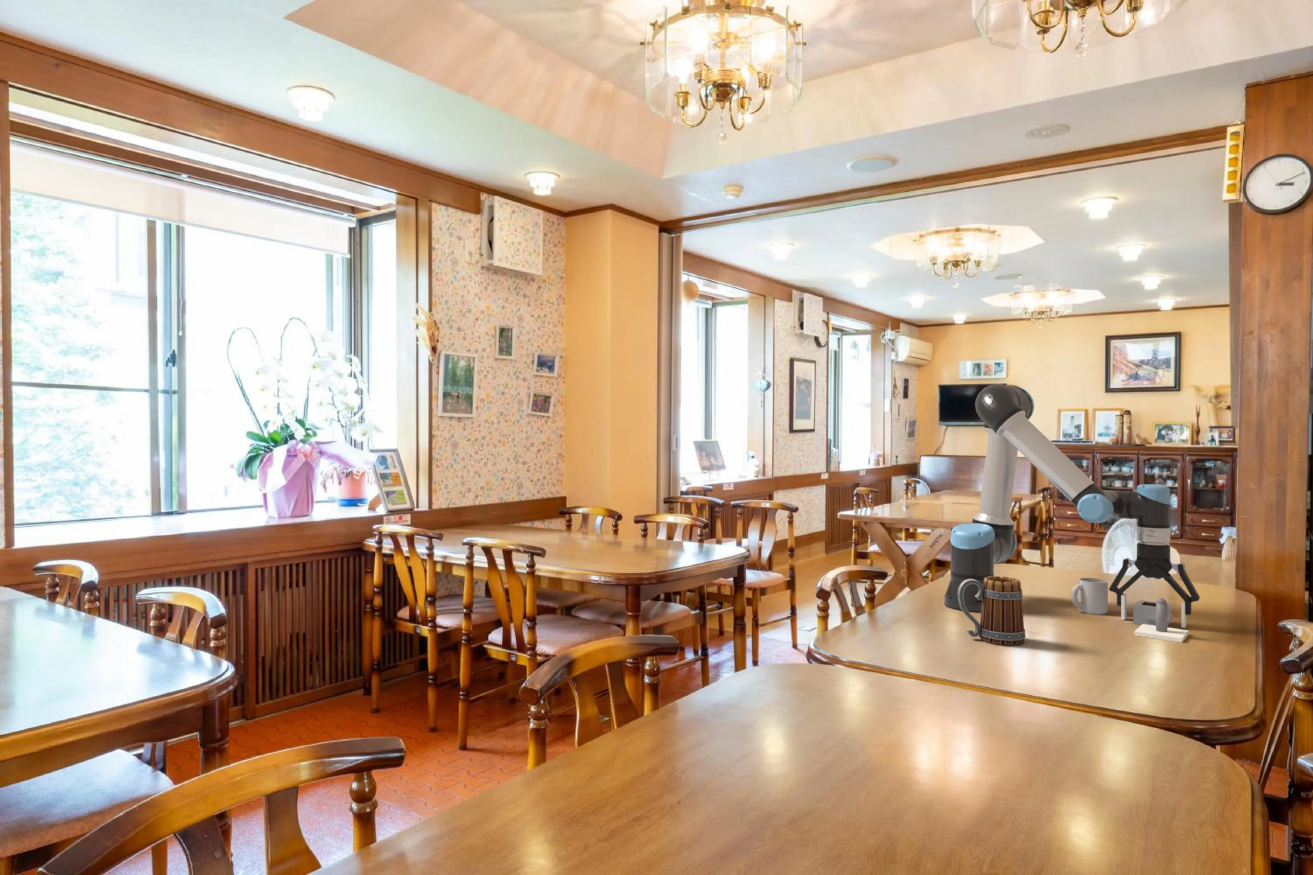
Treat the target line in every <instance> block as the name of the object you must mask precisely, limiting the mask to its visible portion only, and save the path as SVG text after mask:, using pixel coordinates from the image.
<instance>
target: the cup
mask: <svg viewBox="0 0 1313 875" xmlns="http://www.w3.org/2000/svg"><path fill="white" fill-rule="evenodd" d="M1070 599H1071V601H1072V605H1073V606H1075V607H1076V608H1078V610H1079V612H1081V613H1084V614H1087V615H1088V614H1089V615H1097V616H1098V615H1100V616H1101V615H1107V613H1108V609H1109V581H1108V580H1106V579H1102V578H1096V577H1095V578H1094V577H1081V578H1078V583H1077V584H1076V585H1074V586H1073V587H1072V589H1071V594H1070Z"/></svg>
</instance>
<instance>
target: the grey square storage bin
mask: <svg viewBox="0 0 1313 875" xmlns="http://www.w3.org/2000/svg"><path fill="white" fill-rule="evenodd" d="M1156 602H1157V601H1156ZM1156 602H1155V601H1148V600H1141V599H1140V600H1137V602H1135V603H1134V604H1133V610H1132V612H1133V615H1132V616H1133V620H1132V621H1133V622H1132V624H1135V625H1140V626H1141V625H1142V624H1147V625H1154V626H1156ZM1167 604H1168V610H1167V627H1168V628H1169V626H1170V625H1171V624H1172V604H1171V603H1167Z"/></svg>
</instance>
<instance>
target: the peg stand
mask: <svg viewBox="0 0 1313 875" xmlns="http://www.w3.org/2000/svg"><path fill="white" fill-rule="evenodd" d="M1168 604H1169V603H1167V600H1166V599H1165V598H1163V597H1161V598H1158V599H1157V601H1156V626H1154V625H1147V624H1142V625H1140V626H1138V628H1137V629H1135V630H1134V636H1136V637H1143V638H1151V639H1154V640H1155V639H1157V640H1162V641H1169V642H1174V643H1184V641H1185V639H1186V638H1188V636H1189V631H1190V630H1187V629H1183V628H1182V629H1180V628H1173V627H1169V626H1168V627H1167V610H1168Z"/></svg>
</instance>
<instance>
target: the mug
mask: <svg viewBox="0 0 1313 875" xmlns="http://www.w3.org/2000/svg"><path fill="white" fill-rule="evenodd" d="M1021 583H1022V582H1021V581H1020V579H1018V578H1015V577H1008V576H1002V577H1001V576H1000V575H998V576H997V575H994V578H993V576H989V577H985V579H984V584H983V585H982V584H981V583H980V582H979V581H977V580H974V579H967V580H965V581H963V582H962V583H961V584H960V586H959V589H958V601H959V605H960V608H961V609H962V610H961V611H962V613H963V614H964V615H965V617H967V618H968V619H969V620H970V621H971V622H972V624H974V627H975V628H974V630H973V629H972V628H971V627H969V628H966V632H967V634H968V635H969V636H971V637H972V638H976V637H979V638H980V639H981V640H982V642H983V641H984V642H986V643H989V644H992V645H998V646H1008V647H1009V646H1012V647H1013V646H1014V647H1015V646H1019V645H1022V644H1023V643H1025V641H1026V629H1025V627H1024V626H1025V624H1024V623H1025V622H1024V610H1023V609H1024V608H1023V596H1024V595H1023V589H1022V584H1021ZM970 584H975V585H977V586H978V594H977V595H976V596H975V597H976V598H977V599H978V600H981V599H982V607H981V612H980V619H979V620H980V621H978V620H977V619H976V618H975V617H974V616H973V615H972V613H970V611H968V610H967V609H966V606H965V603H964V598H963V594H964V590H965V588H966V587H967V586H968V585H970Z"/></svg>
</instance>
